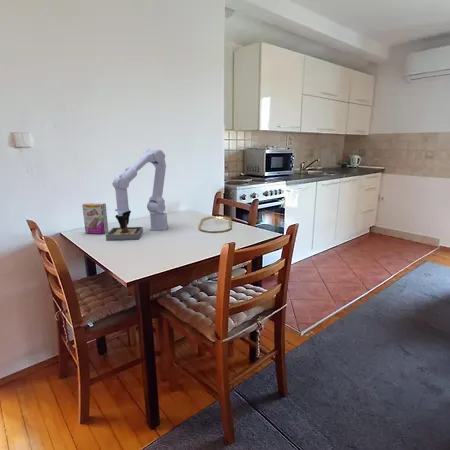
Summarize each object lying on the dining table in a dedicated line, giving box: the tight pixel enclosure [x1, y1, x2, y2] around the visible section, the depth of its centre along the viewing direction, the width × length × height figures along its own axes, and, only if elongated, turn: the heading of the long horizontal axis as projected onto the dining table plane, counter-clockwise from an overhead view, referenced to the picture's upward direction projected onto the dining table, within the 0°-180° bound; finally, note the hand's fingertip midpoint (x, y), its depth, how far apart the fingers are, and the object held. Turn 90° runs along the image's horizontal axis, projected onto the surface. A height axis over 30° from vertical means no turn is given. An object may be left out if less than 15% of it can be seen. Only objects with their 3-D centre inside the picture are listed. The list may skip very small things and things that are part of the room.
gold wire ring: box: [197, 215, 232, 234], centre depth 194 cm, size 19×35×2 cm, turn 179°
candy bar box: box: [81, 202, 109, 235], centre depth 177 cm, size 11×5×16 cm, turn 84°
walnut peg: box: [122, 220, 128, 233], centre depth 171 cm, size 3×3×8 cm
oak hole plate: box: [114, 229, 137, 234], centre depth 172 cm, size 10×10×2 cm
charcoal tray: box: [105, 226, 144, 242], centre depth 172 cm, size 16×14×3 cm
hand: (124, 226), depth 171 cm, fingers open, 7 cm apart
